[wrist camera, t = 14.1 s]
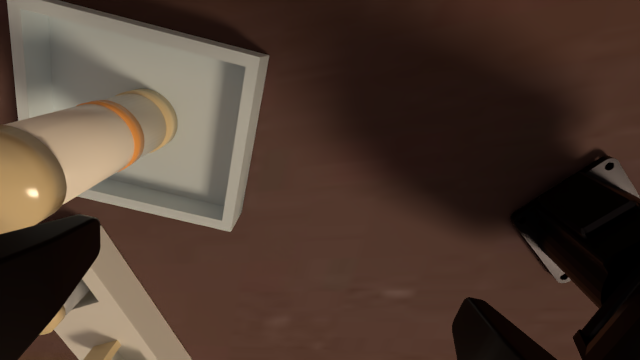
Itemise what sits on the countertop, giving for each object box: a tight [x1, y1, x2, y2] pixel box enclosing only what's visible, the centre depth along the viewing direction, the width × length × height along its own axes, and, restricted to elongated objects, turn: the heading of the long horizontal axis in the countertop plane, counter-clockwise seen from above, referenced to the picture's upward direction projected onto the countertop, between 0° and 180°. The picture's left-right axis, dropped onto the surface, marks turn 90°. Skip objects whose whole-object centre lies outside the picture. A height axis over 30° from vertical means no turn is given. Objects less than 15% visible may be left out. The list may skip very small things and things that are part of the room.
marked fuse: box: [0, 88, 178, 234], centre depth 15 cm, size 3×3×10 cm
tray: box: [7, 0, 269, 232], centre depth 19 cm, size 12×10×2 cm
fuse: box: [39, 280, 90, 335], centre depth 22 cm, size 3×3×4 cm
